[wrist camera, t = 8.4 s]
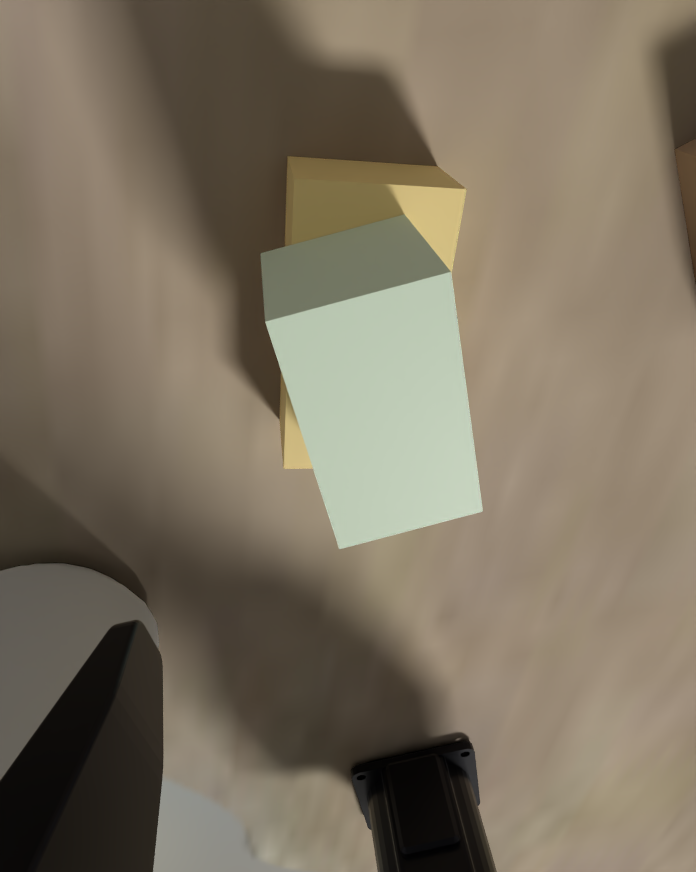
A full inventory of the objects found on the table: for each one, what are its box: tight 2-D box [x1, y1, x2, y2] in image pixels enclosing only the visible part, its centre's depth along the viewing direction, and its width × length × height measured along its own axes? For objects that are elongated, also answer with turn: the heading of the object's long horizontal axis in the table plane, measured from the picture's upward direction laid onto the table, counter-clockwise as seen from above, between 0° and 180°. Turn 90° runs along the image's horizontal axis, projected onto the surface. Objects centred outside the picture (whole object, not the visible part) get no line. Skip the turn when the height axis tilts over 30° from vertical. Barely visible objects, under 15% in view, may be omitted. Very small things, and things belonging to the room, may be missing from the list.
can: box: [0, 563, 159, 780], centre depth 19 cm, size 8×8×12 cm
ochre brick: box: [280, 156, 467, 469], centre depth 18 cm, size 8×4×3 cm, turn 175°
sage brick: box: [260, 214, 483, 549], centre depth 15 cm, size 6×4×4 cm, turn 13°
